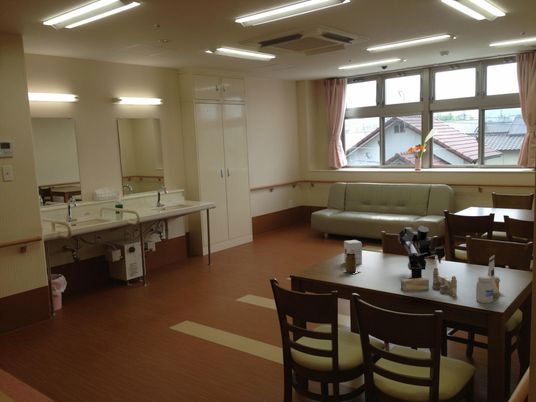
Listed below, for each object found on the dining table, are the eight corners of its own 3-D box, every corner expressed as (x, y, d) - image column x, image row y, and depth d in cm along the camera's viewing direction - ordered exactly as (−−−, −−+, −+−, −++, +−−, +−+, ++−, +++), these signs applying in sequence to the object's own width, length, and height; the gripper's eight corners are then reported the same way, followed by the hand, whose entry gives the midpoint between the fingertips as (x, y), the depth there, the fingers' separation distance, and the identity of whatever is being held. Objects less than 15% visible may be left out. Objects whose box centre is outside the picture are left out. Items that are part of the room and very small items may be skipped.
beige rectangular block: (400, 288, 252) (400, 279, 251) (425, 286, 254) (425, 277, 254) (404, 290, 248) (404, 281, 247) (428, 288, 250) (428, 279, 250)
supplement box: (343, 262, 313) (343, 240, 311) (355, 261, 316) (355, 239, 314) (350, 265, 304) (349, 243, 303) (362, 264, 307) (362, 241, 305)
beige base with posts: (427, 285, 257) (427, 267, 255) (436, 284, 257) (436, 266, 256) (447, 296, 237) (447, 277, 236) (456, 295, 238) (457, 276, 236)
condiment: (349, 270, 294) (349, 251, 292) (361, 272, 288) (360, 253, 287) (342, 272, 288) (342, 253, 287) (354, 274, 283) (354, 255, 281)
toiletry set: (490, 305, 223) (491, 262, 220) (474, 302, 228) (474, 260, 225) (503, 291, 242) (504, 252, 239) (488, 289, 247) (489, 251, 244)
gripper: (403, 240, 253) (410, 257, 239) (437, 231, 250) (447, 248, 236) (406, 255, 258) (414, 274, 245) (440, 247, 255) (450, 265, 242)
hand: (431, 265), depth 242 cm, fingers open, 9 cm apart
